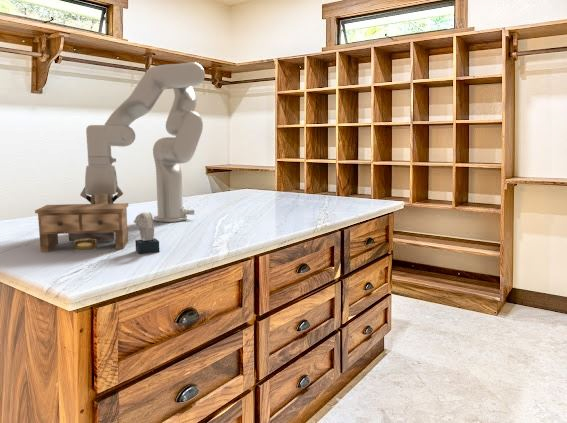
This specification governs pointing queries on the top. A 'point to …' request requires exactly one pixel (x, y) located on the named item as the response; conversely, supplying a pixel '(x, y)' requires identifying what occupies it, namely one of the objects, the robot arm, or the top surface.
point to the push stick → (99, 236)
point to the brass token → (85, 243)
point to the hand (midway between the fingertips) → (103, 214)
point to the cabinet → (82, 222)
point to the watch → (146, 234)
